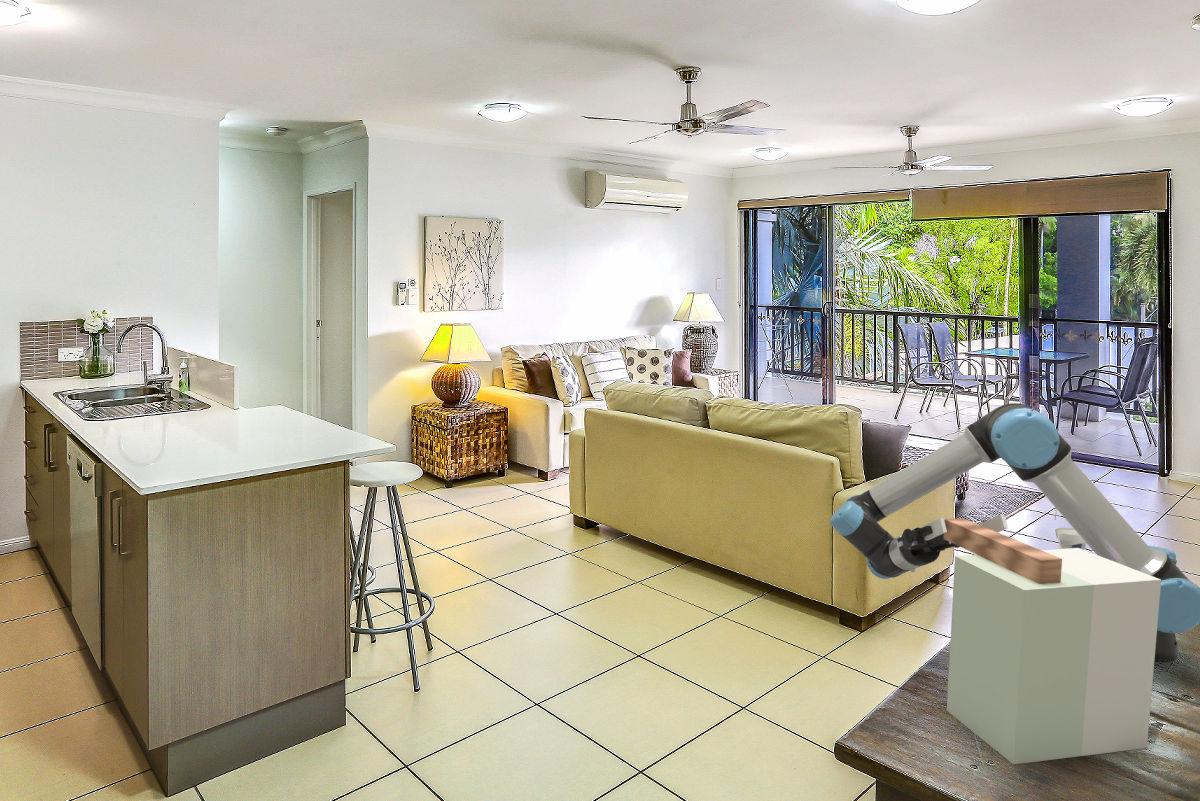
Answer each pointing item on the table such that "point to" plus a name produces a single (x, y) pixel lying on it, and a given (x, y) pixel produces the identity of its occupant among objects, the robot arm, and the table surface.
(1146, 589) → the pale green cube
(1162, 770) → the table surface
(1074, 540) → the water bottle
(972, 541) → the bar
